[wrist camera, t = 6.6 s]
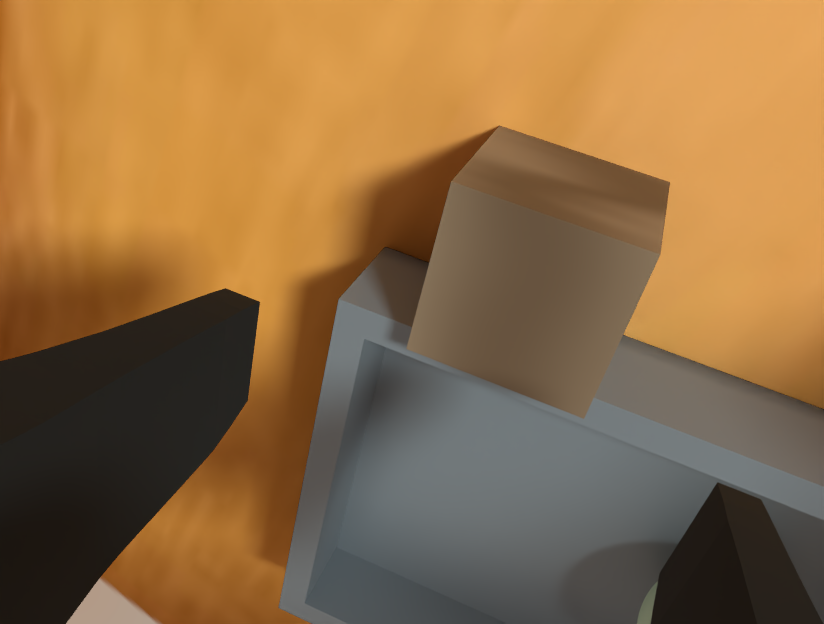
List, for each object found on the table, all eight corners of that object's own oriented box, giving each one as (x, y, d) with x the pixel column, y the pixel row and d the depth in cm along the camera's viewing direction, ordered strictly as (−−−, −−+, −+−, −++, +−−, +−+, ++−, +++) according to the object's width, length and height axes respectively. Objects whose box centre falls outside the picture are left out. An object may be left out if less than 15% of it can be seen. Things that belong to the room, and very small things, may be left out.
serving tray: (1028, 485, 17) (1082, 587, 15) (776, 744, 24) (783, 844, 21) (384, 246, 20) (338, 298, 17) (319, 539, 26) (278, 607, 24)
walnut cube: (670, 181, 17) (660, 254, 13) (605, 325, 19) (583, 418, 16) (500, 124, 17) (451, 180, 14) (457, 270, 19) (406, 349, 16)
